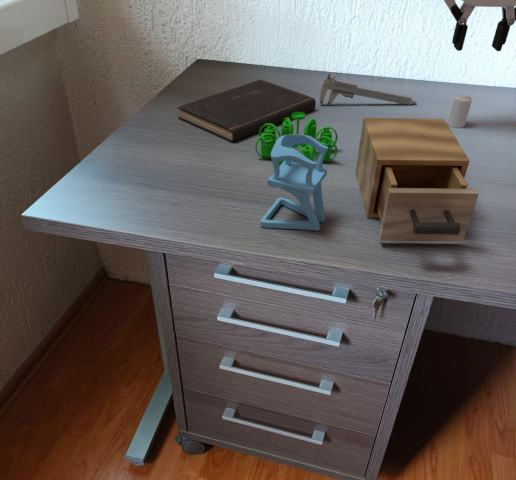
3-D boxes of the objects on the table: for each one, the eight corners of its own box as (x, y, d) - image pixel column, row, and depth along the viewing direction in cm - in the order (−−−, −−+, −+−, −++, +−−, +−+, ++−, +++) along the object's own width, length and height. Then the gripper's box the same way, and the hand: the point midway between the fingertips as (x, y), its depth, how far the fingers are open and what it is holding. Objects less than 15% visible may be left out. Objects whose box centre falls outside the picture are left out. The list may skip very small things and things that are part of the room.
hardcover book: (178, 118, 104) (177, 106, 102) (260, 90, 116) (260, 79, 114) (233, 143, 96) (232, 130, 94) (315, 110, 108) (316, 98, 106)
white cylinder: (462, 121, 104) (469, 95, 101) (466, 128, 102) (474, 101, 98) (446, 121, 104) (452, 95, 101) (450, 127, 102) (457, 101, 98)
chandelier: (351, 147, 95) (356, 108, 90) (316, 181, 86) (320, 140, 81) (278, 130, 100) (279, 92, 95) (238, 161, 91) (237, 120, 86)
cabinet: (452, 219, 78) (469, 160, 71) (367, 218, 78) (377, 159, 71) (430, 173, 88) (444, 118, 82) (355, 172, 88) (363, 117, 82)
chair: (313, 239, 74) (321, 157, 65) (259, 226, 76) (260, 145, 67) (330, 213, 79) (339, 133, 70) (278, 202, 81) (281, 123, 73)
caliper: (319, 106, 109) (322, 73, 105) (319, 104, 110) (321, 72, 106) (416, 105, 110) (423, 72, 106) (415, 103, 111) (421, 71, 106)
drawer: (472, 262, 68) (490, 212, 63) (385, 261, 68) (396, 211, 63) (439, 193, 81) (452, 147, 76) (366, 192, 82) (374, 146, 76)
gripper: (557, -83, 84) (518, 43, 96) (449, -84, 84) (423, 42, 96) (577, -77, 78) (532, 55, 91) (461, -78, 78) (432, 54, 91)
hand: (476, 47), depth 93 cm, fingers open, 6 cm apart
